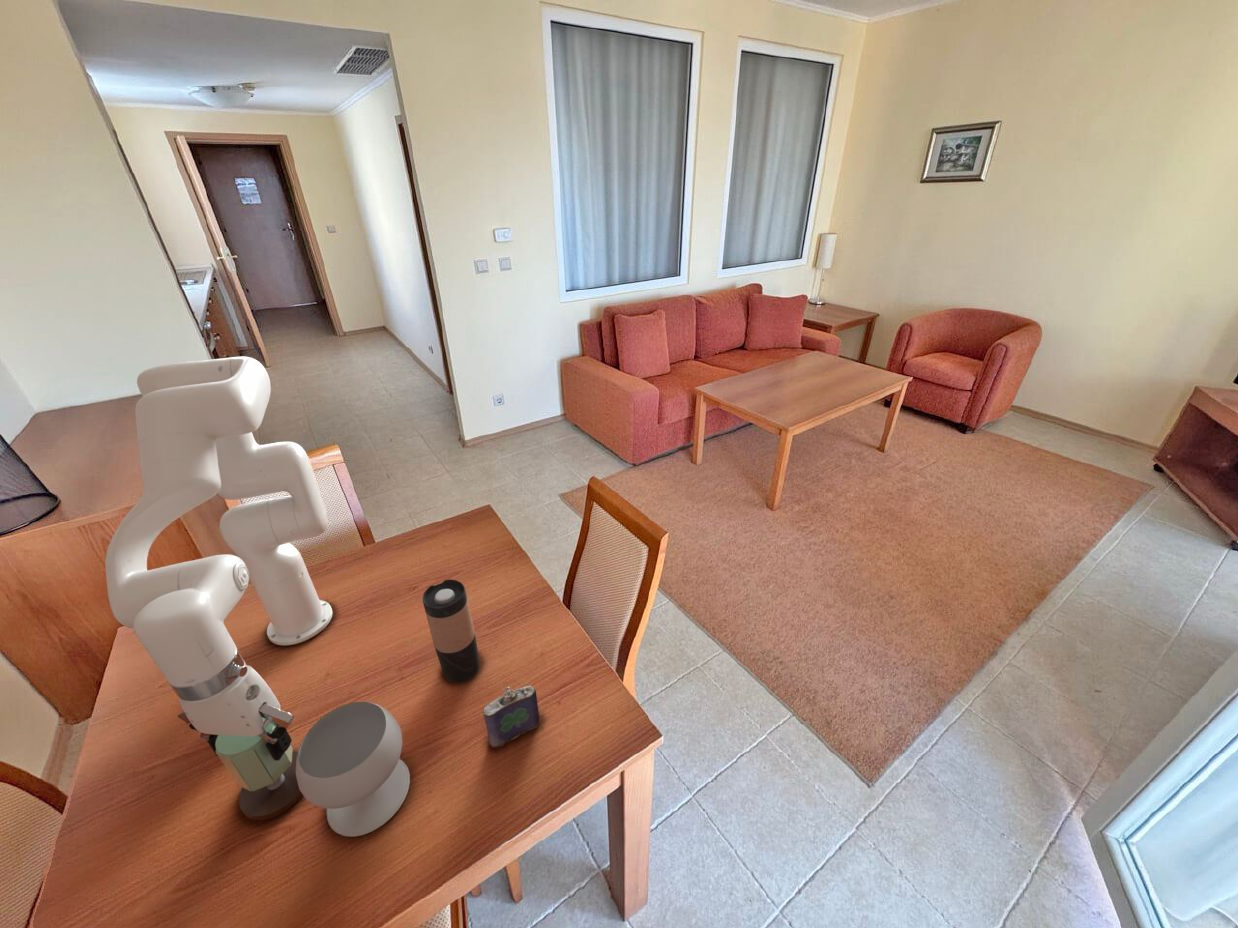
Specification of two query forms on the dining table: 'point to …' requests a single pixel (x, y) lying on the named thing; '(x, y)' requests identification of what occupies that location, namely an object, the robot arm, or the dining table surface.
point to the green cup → (251, 760)
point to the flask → (511, 715)
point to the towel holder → (272, 796)
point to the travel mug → (452, 630)
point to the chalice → (354, 767)
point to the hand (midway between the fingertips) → (255, 748)
